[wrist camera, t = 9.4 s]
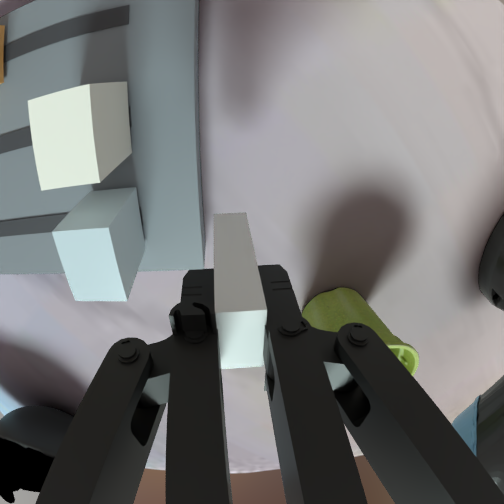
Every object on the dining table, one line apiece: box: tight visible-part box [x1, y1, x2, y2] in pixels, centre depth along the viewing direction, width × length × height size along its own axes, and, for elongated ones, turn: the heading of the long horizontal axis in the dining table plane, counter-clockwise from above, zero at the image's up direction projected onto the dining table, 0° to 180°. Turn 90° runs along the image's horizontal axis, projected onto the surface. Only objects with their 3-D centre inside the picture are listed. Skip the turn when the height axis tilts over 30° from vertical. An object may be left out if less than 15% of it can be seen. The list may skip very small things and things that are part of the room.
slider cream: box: [28, 82, 132, 191], centre depth 12 cm, size 3×4×5 cm
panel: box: [0, 0, 205, 274], centre depth 15 cm, size 24×19×4 cm
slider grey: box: [52, 187, 146, 301], centre depth 15 cm, size 3×4×5 cm
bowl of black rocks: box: [0, 406, 74, 503], centre depth 28 cm, size 20×20×19 cm
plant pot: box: [302, 288, 419, 376], centre depth 24 cm, size 9×9×9 cm
